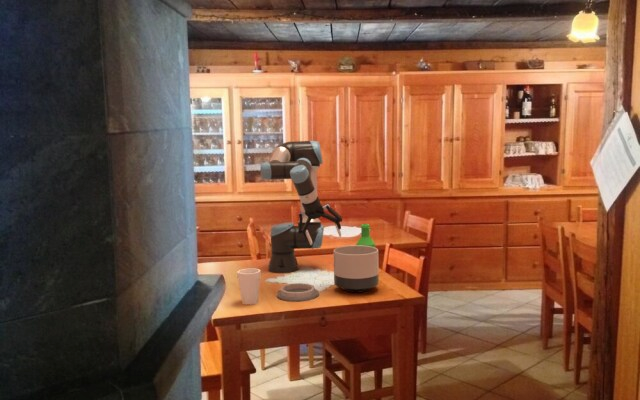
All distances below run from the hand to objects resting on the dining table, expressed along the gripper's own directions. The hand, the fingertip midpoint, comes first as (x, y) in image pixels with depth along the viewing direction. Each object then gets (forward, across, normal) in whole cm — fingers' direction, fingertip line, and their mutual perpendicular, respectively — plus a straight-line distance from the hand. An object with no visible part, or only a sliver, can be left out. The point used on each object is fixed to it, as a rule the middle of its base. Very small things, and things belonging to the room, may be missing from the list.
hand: (325, 239), depth 239 cm
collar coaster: (+10, -16, -21) cm, 28 cm away
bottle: (+30, +10, +6) cm, 32 cm away
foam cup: (+2, -33, -29) cm, 44 cm away
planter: (+20, +7, -15) cm, 26 cm away
